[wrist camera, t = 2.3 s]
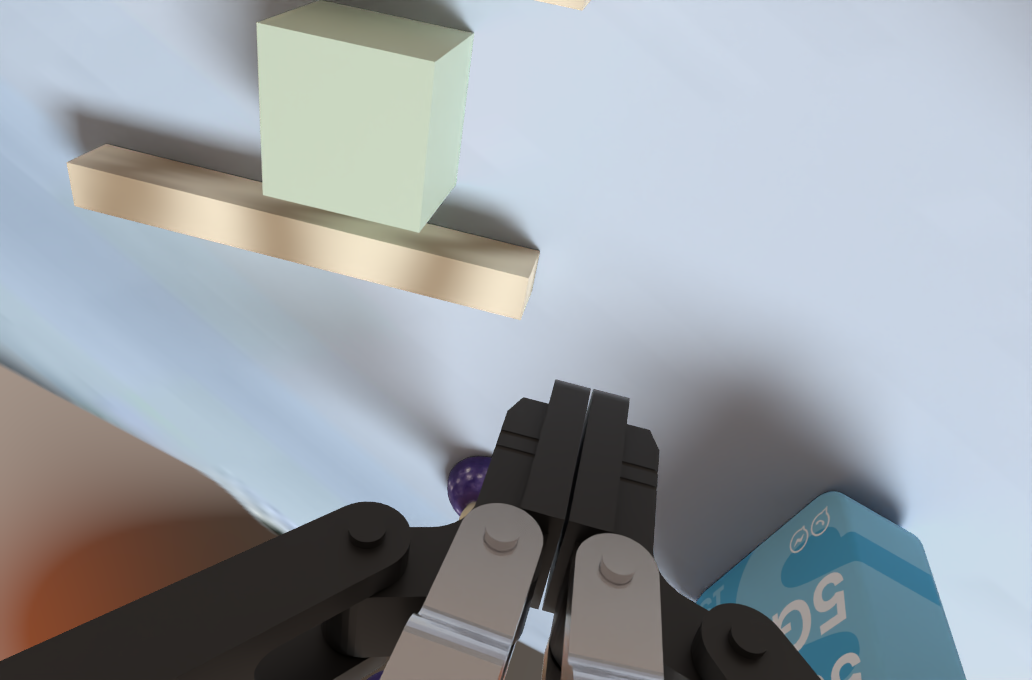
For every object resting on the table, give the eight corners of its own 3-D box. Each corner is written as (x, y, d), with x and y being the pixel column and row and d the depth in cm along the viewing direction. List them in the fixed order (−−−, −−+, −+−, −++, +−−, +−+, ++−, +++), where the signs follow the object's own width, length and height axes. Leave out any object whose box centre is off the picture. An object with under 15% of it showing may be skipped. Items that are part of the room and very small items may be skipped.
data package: (839, 475, 35) (893, 720, 25) (917, 521, 35) (1002, 779, 25) (687, 603, 41) (682, 836, 31) (754, 640, 42) (771, 881, 32)
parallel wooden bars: (604, -66, 25) (596, -59, 23) (531, 291, 33) (520, 320, 31) (56, -181, 26) (1, -185, 24) (112, 185, 34) (74, 206, 32)
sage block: (474, 32, 28) (435, 62, 23) (456, 183, 31) (419, 232, 27) (321, -1, 28) (256, 22, 24) (320, 151, 31) (262, 195, 27)
